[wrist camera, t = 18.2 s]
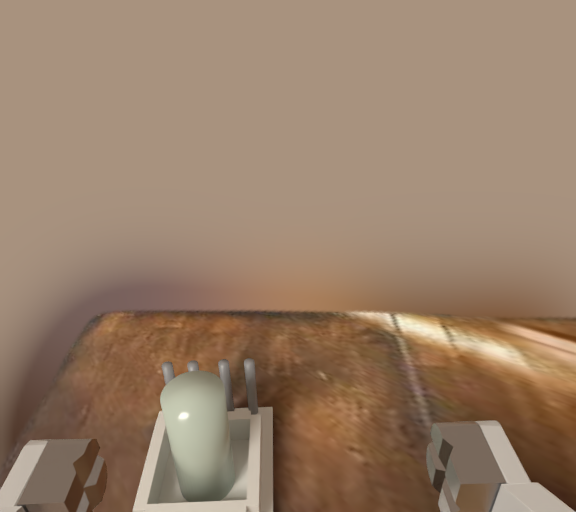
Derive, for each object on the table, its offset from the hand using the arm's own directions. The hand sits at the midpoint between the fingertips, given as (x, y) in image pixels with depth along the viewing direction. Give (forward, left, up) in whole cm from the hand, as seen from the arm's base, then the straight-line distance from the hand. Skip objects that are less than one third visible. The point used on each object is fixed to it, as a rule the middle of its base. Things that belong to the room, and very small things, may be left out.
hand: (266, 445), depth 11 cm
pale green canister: (+7, -18, -29) cm, 35 cm away
